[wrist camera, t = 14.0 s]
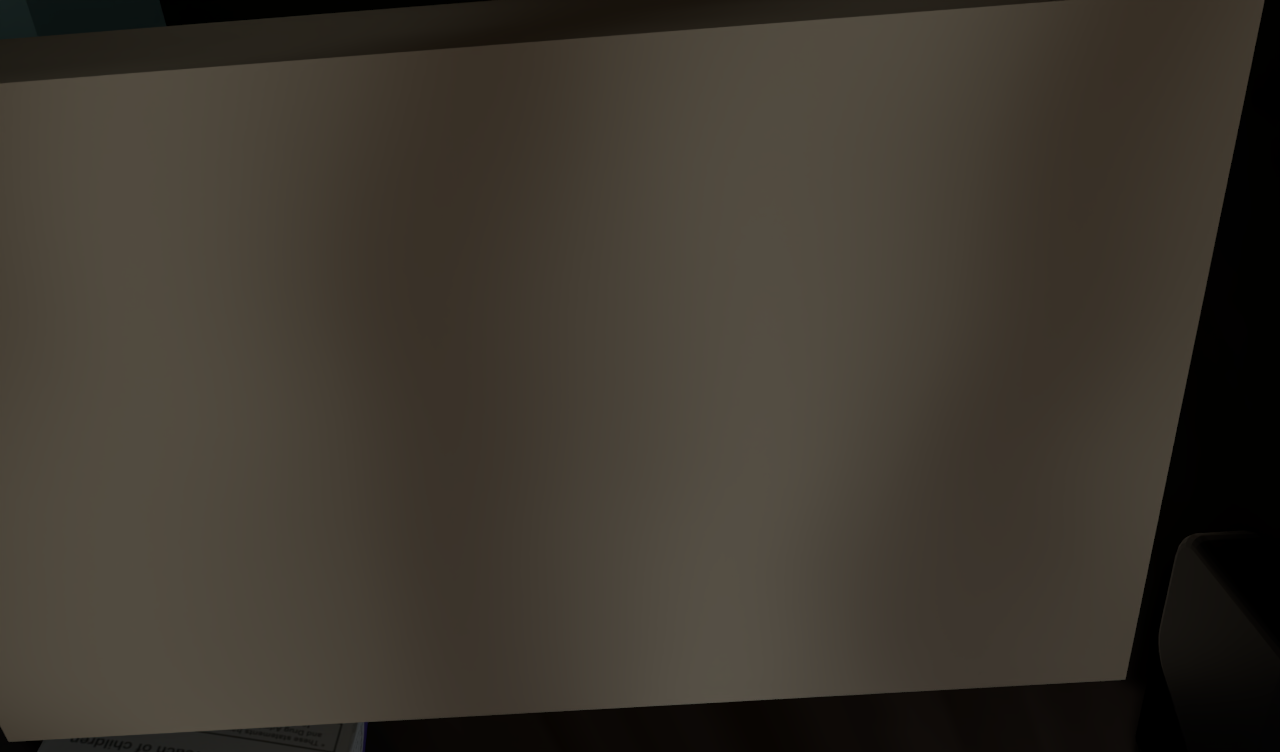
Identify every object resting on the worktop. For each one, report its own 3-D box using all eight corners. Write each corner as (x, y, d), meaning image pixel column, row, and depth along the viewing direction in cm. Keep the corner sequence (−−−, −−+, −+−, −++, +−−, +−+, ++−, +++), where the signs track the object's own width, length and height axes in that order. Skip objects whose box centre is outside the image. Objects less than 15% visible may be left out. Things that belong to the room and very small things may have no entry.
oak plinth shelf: (1056, -147, 16) (1267, -16, 11) (999, 400, 21) (1125, 679, 16) (-22, -57, 17) (-335, 109, 11) (165, 454, 22) (8, 741, 16)
